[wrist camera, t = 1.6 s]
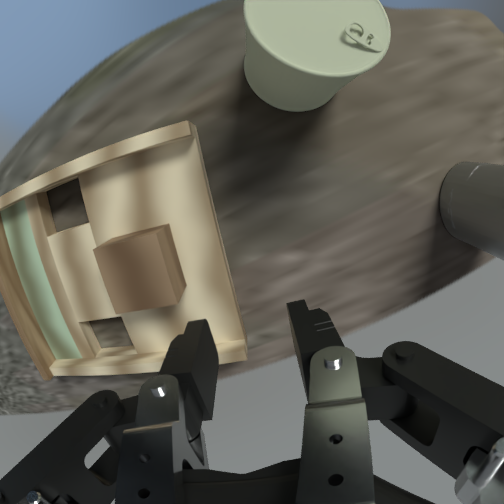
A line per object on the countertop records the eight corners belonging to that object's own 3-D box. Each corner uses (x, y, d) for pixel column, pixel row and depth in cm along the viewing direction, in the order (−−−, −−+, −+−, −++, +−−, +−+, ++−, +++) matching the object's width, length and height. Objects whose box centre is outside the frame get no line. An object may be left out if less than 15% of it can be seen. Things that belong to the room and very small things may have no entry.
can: (314, 129, 26) (361, 106, 14) (226, 83, 24) (211, 30, 13) (355, 57, 23) (412, 8, 12) (272, 13, 22) (285, -59, 11)
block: (169, 223, 26) (156, 233, 22) (186, 285, 28) (177, 304, 24) (111, 238, 26) (92, 249, 22) (130, 295, 28) (116, 314, 24)
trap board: (196, 126, 25) (185, 118, 21) (247, 338, 31) (247, 366, 27) (2, 202, 26) (-24, 209, 22) (60, 358, 33) (44, 380, 28)
